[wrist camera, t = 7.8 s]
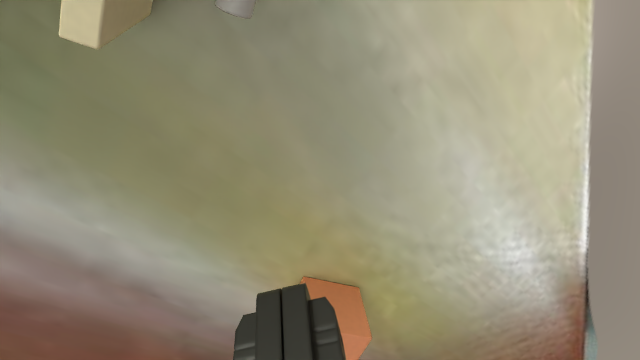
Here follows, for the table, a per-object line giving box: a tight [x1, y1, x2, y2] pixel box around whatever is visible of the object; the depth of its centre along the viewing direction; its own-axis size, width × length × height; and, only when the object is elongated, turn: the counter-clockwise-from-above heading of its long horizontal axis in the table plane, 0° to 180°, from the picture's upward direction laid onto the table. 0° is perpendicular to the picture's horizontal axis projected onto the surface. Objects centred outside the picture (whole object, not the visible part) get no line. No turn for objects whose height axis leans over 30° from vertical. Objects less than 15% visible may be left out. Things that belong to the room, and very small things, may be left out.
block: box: [300, 277, 372, 360], centre depth 29 cm, size 5×5×5 cm
